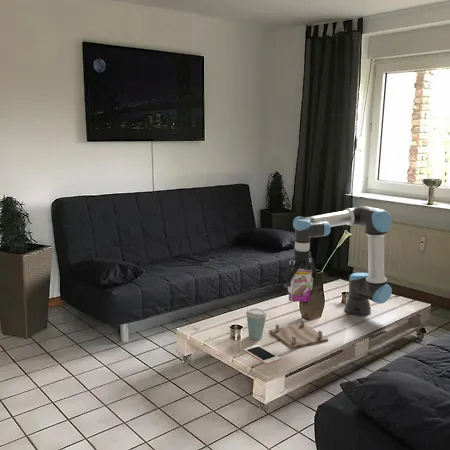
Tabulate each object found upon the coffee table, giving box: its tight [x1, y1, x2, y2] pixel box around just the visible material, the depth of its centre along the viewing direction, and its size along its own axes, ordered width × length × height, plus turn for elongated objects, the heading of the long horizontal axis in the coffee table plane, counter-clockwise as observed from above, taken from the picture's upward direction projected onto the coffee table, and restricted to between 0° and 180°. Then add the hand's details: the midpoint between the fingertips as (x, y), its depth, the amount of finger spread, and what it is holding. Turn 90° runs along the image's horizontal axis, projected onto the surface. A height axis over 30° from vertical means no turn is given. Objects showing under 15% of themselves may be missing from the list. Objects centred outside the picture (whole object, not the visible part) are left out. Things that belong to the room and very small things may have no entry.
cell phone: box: [243, 344, 281, 365], centre depth 243 cm, size 9×18×1 cm, turn 36°
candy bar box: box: [288, 268, 312, 303], centre depth 257 cm, size 11×5×16 cm, turn 84°
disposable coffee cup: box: [245, 308, 268, 341], centre depth 260 cm, size 11×11×15 cm
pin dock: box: [269, 319, 329, 350], centre depth 263 cm, size 22×22×5 cm
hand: (300, 290), depth 258 cm, fingers closed on candy bar box, 12 cm apart
